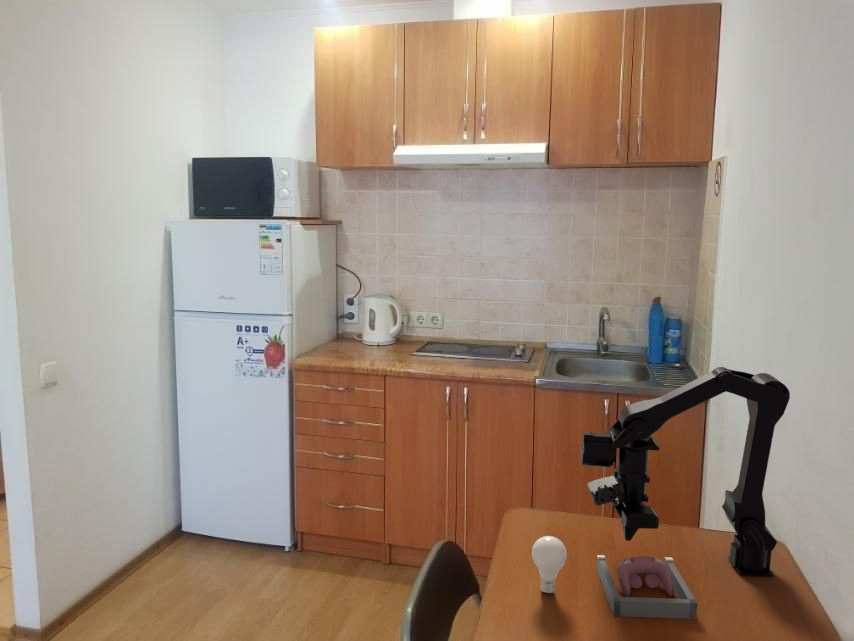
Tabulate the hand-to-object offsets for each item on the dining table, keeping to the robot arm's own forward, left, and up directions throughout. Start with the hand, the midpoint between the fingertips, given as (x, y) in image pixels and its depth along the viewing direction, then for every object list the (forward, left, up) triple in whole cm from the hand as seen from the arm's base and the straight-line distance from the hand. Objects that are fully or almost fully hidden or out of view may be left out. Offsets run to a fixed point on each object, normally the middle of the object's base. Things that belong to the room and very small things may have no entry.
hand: (627, 539), depth 137 cm
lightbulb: (+18, +13, -4) cm, 23 cm away
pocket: (0, +12, -4) cm, 13 cm away
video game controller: (-1, +11, -4) cm, 12 cm away
